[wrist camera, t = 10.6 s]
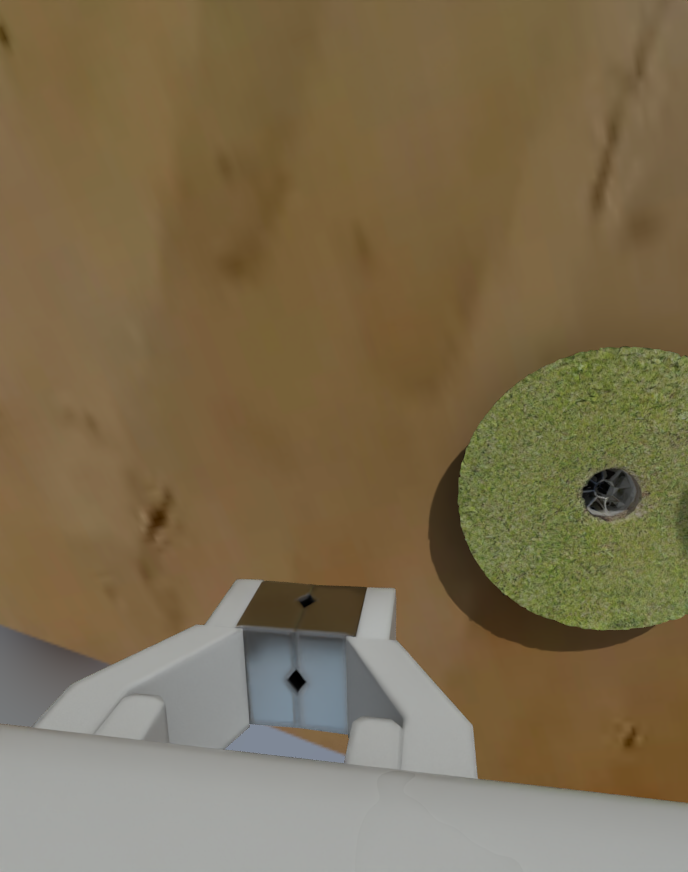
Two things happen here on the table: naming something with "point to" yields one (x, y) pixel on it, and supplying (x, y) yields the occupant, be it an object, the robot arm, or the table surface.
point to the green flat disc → (585, 490)
